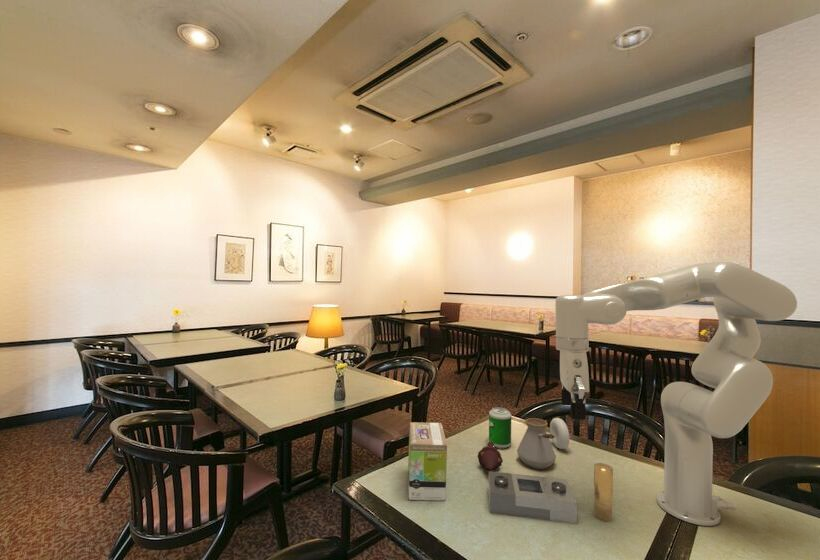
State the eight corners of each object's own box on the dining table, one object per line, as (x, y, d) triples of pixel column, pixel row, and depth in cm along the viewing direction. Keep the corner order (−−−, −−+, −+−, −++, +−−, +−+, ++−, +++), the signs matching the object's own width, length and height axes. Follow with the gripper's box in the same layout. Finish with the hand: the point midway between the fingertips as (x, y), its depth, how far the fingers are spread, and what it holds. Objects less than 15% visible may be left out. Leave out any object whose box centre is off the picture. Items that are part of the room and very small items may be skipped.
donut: (547, 441, 127) (548, 413, 127) (557, 441, 128) (557, 413, 128) (561, 455, 117) (561, 424, 117) (571, 454, 118) (571, 424, 118)
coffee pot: (513, 453, 118) (513, 407, 118) (548, 454, 118) (549, 409, 118) (531, 490, 97) (532, 435, 97) (574, 492, 96) (575, 437, 96)
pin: (608, 512, 88) (609, 463, 88) (615, 523, 84) (615, 472, 84) (591, 510, 89) (591, 462, 89) (596, 520, 85) (597, 470, 85)
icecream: (506, 461, 100) (503, 442, 115) (480, 451, 102) (481, 434, 116) (500, 485, 100) (497, 463, 114) (474, 475, 101) (475, 455, 116)
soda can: (513, 443, 125) (514, 409, 125) (507, 452, 119) (507, 416, 119) (492, 438, 129) (493, 405, 129) (485, 446, 123) (486, 411, 123)
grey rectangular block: (566, 498, 94) (566, 476, 94) (576, 523, 84) (577, 499, 84) (488, 489, 97) (488, 468, 97) (490, 512, 87) (490, 489, 87)
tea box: (447, 501, 92) (447, 444, 92) (408, 501, 92) (408, 443, 92) (441, 470, 107) (442, 421, 107) (408, 470, 107) (408, 420, 107)
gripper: (599, 350, 81) (600, 426, 81) (578, 338, 98) (579, 401, 98) (563, 350, 82) (564, 424, 82) (549, 338, 99) (550, 399, 99)
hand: (573, 411), depth 90 cm, fingers open, 9 cm apart
